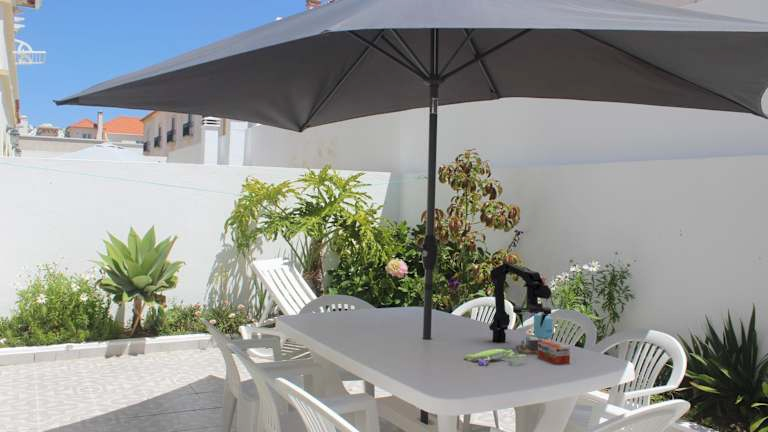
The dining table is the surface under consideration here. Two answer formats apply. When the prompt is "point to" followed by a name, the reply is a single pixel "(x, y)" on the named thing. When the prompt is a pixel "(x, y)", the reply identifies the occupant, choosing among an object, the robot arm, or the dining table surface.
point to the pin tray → (525, 349)
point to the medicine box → (553, 352)
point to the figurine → (491, 355)
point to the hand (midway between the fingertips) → (531, 326)
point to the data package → (543, 326)
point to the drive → (532, 343)
